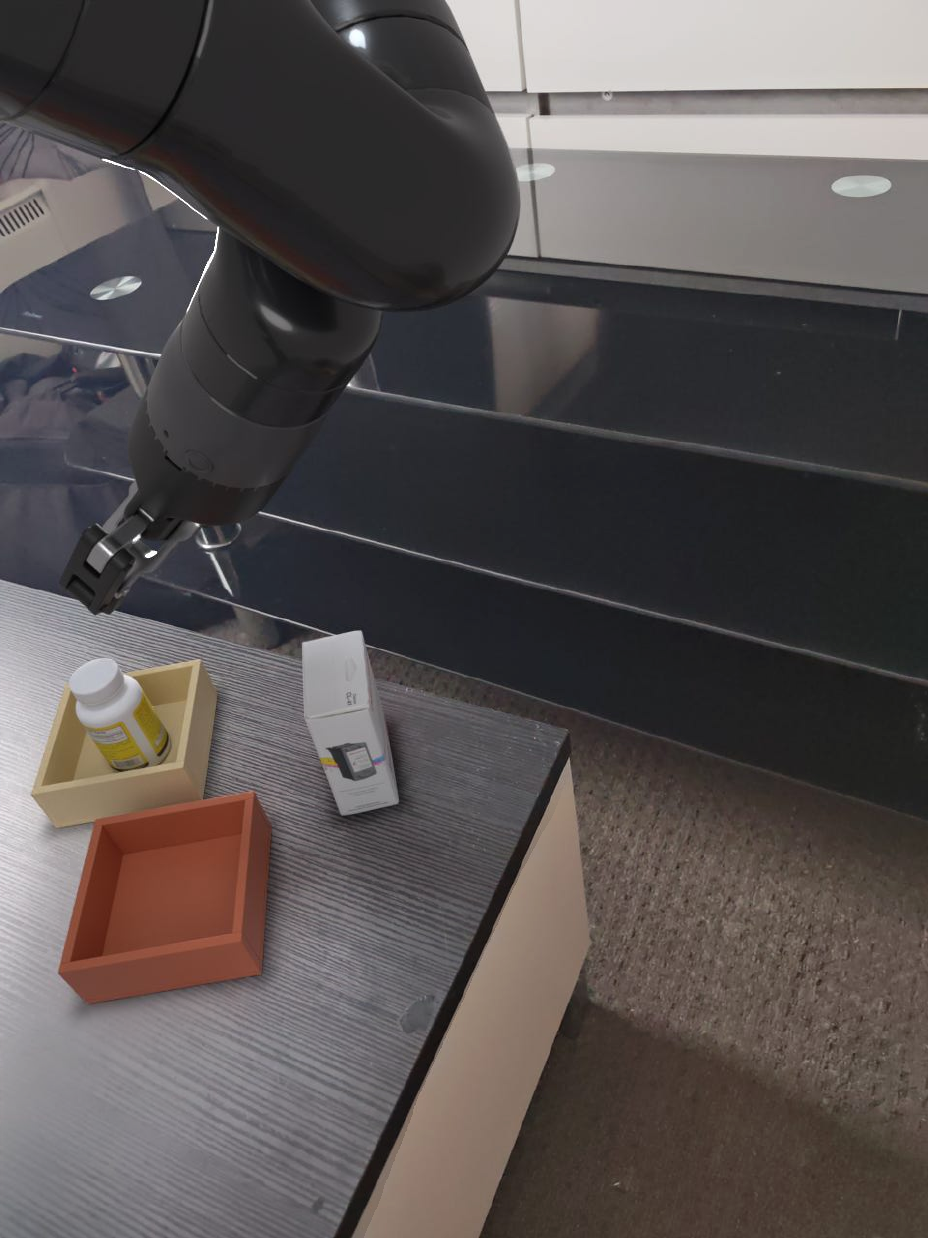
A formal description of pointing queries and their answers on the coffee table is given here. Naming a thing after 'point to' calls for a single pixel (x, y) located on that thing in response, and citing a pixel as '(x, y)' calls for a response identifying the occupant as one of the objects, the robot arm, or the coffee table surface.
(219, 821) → the terracotta bin
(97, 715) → the supplement bottle
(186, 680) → the cream bin
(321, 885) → the coffee table surface
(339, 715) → the ink box
